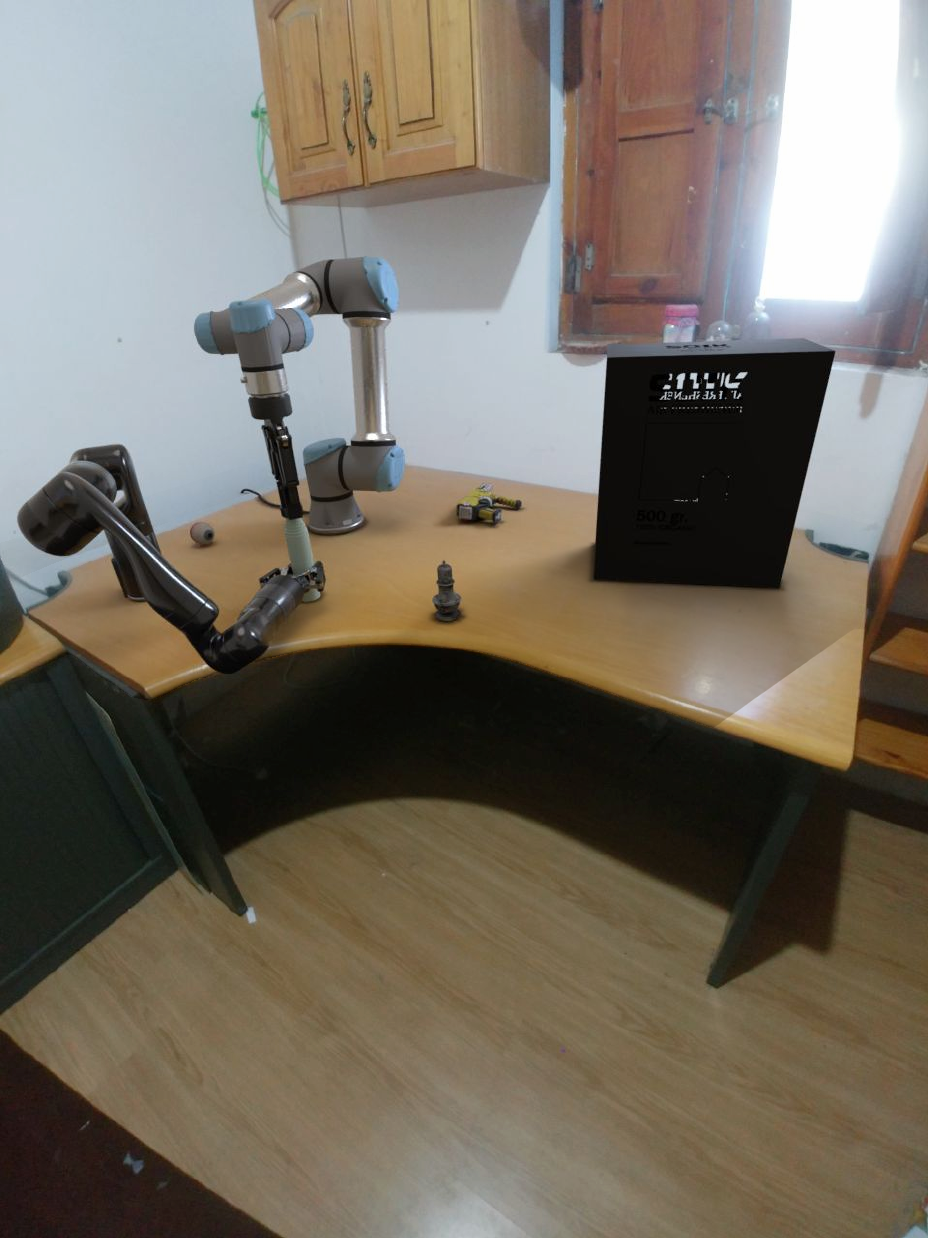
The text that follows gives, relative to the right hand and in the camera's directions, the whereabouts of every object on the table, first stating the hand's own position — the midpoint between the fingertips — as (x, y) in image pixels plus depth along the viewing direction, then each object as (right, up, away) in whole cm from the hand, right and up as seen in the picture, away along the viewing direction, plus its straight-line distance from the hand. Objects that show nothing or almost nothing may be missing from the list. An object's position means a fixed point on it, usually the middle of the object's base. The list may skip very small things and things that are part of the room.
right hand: (292, 514), depth 123 cm
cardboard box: (+84, -9, +14) cm, 85 cm away
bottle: (+1, -16, +10) cm, 19 cm away
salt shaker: (+32, -21, -1) cm, 38 cm away
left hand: (+1, -9, +9) cm, 13 cm away
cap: (0, +2, -1) cm, 2 cm away
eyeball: (-34, -1, +39) cm, 52 cm away
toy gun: (+44, +10, +51) cm, 67 cm away
